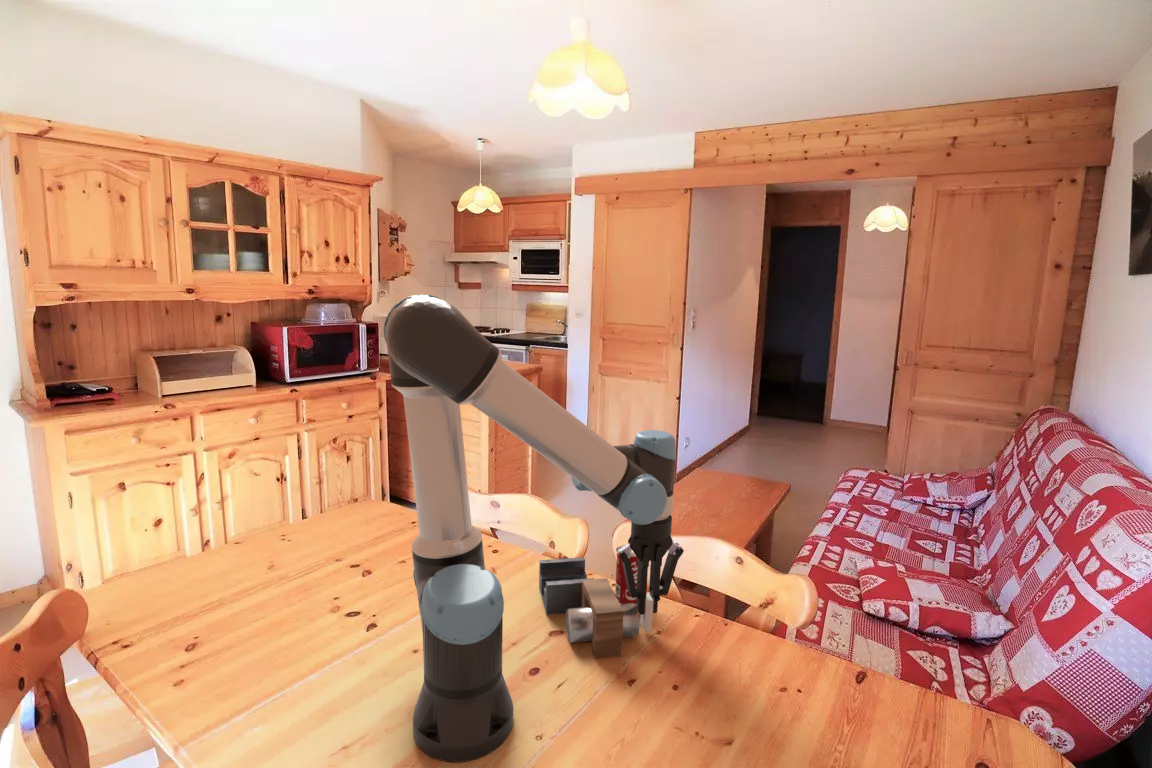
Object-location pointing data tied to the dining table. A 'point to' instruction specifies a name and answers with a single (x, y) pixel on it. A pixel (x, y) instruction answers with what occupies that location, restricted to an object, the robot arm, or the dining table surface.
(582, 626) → the axle
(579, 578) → the vee cradle
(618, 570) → the soda can
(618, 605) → the brown bridge block
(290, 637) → the dining table surface
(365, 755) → the dining table surface
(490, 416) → the robot arm
